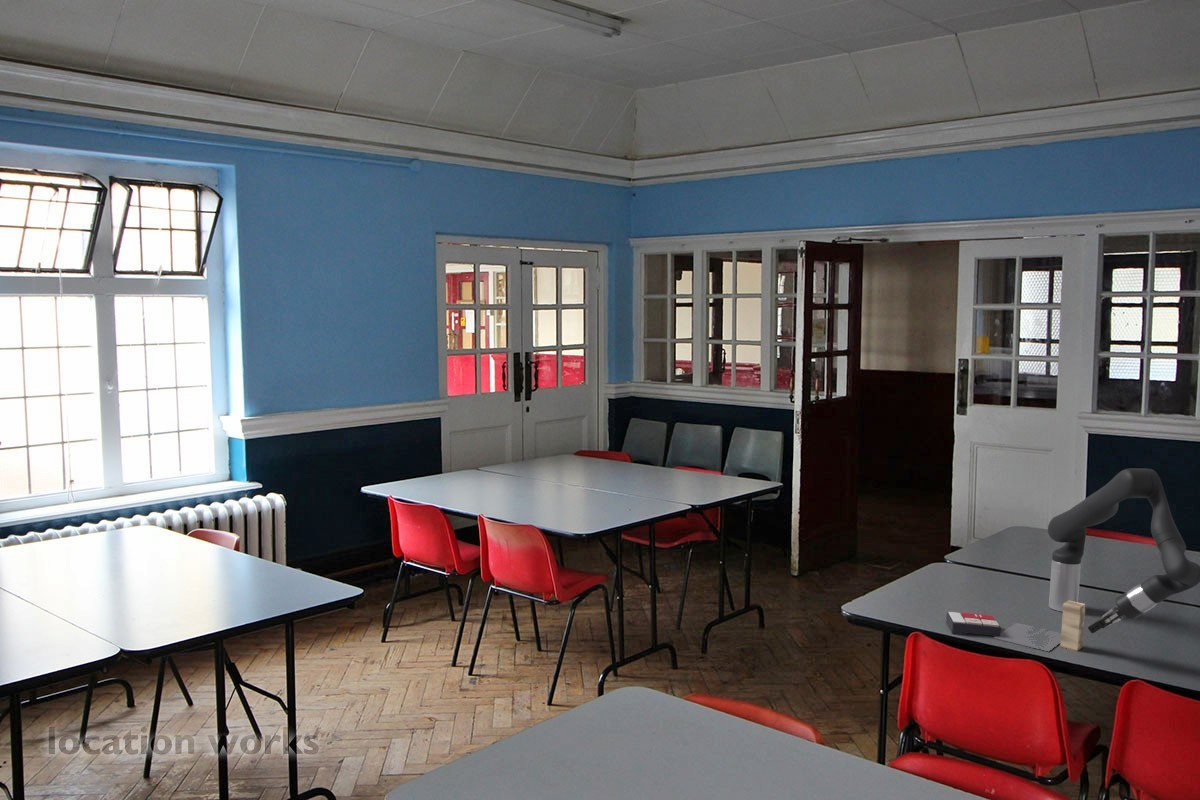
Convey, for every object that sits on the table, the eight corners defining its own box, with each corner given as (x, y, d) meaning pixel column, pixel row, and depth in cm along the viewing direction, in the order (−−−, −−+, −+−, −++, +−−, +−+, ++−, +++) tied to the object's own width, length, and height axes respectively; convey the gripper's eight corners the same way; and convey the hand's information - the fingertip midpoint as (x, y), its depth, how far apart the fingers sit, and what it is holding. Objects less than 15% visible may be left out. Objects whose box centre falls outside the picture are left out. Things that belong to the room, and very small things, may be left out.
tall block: (1065, 642, 310) (1068, 600, 308) (1082, 647, 307) (1085, 603, 305) (1060, 647, 306) (1063, 603, 305) (1077, 651, 303) (1080, 607, 301)
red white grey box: (1001, 625, 314) (952, 620, 316) (1000, 638, 314) (951, 633, 317) (993, 614, 324) (946, 609, 327) (992, 627, 325) (945, 622, 327)
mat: (1016, 623, 328) (1016, 622, 328) (1069, 636, 316) (1069, 635, 316) (993, 638, 313) (993, 637, 313) (1048, 652, 302) (1048, 651, 302)
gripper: (1134, 585, 299) (1088, 614, 309) (1121, 595, 289) (1075, 625, 299) (1152, 606, 296) (1105, 635, 306) (1140, 617, 286) (1092, 646, 296)
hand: (1090, 630), depth 302 cm, fingers closed
